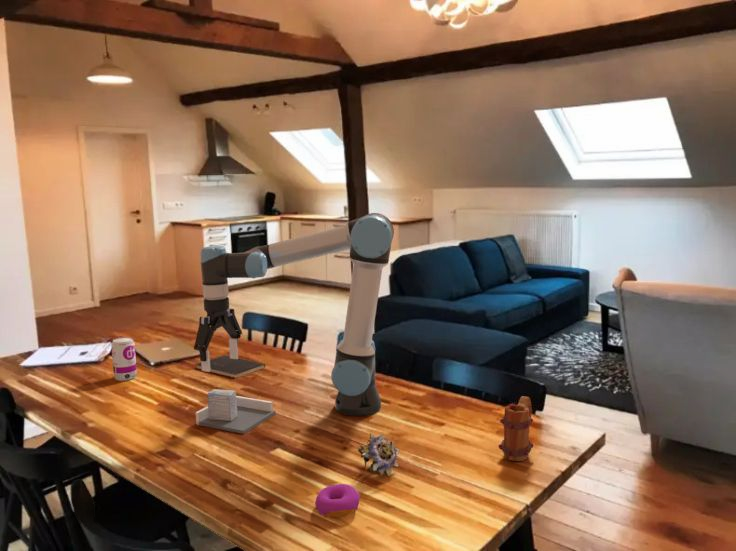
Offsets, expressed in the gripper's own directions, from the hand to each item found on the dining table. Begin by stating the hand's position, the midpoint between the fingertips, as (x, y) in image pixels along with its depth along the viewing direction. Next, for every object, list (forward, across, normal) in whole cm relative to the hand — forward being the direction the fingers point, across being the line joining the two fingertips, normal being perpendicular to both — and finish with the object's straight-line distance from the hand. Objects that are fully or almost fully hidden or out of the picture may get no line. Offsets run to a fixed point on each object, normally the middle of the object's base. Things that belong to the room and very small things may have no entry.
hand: (220, 364), depth 197 cm
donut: (+19, +32, +57) cm, 68 cm away
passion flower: (+19, +11, +58) cm, 62 cm away
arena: (+18, -3, +3) cm, 19 cm away
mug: (+20, -13, +89) cm, 92 cm away
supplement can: (+18, -20, -62) cm, 68 cm away
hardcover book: (+19, -46, -32) cm, 59 cm away
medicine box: (+18, 0, 0) cm, 18 cm away
